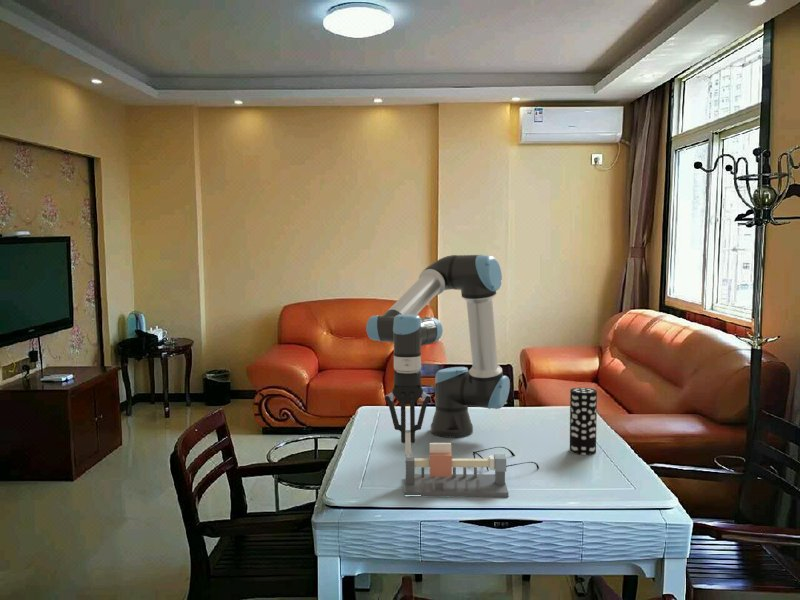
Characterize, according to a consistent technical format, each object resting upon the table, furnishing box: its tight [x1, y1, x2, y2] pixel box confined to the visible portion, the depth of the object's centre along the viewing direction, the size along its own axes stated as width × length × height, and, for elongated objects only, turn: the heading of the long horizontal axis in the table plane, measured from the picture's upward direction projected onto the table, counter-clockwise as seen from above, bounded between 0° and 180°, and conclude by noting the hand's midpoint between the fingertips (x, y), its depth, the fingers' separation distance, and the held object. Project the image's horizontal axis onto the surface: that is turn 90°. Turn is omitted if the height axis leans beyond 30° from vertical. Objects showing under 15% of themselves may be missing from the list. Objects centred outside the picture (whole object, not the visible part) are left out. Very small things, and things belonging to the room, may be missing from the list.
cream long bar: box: [414, 453, 507, 473], centre depth 185 cm, size 27×4×4 cm, turn 88°
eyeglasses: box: [472, 446, 540, 472], centre depth 203 cm, size 16×16×4 cm
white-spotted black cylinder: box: [569, 387, 598, 456], centre depth 215 cm, size 8×8×20 cm
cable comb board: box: [403, 456, 509, 498], centre depth 185 cm, size 28×14×8 cm, turn 88°
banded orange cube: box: [429, 442, 453, 477], centre depth 185 cm, size 6×6×8 cm
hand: (408, 454), depth 185 cm, fingers closed
